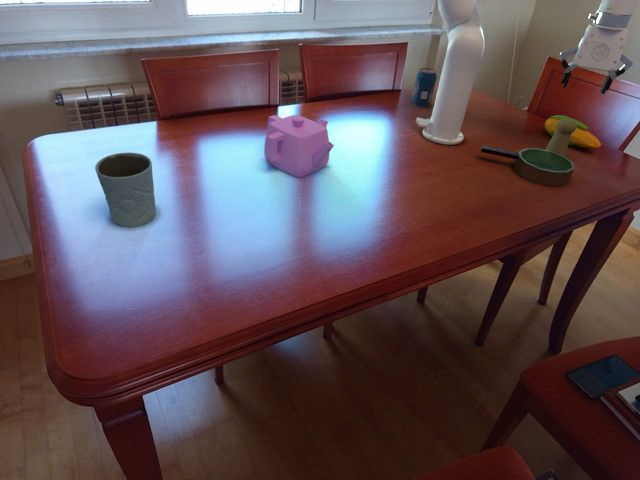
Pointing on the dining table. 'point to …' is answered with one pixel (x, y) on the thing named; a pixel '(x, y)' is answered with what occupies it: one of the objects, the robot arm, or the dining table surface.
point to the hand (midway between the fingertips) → (582, 89)
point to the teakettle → (297, 144)
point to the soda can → (424, 87)
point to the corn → (574, 133)
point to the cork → (561, 136)
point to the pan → (538, 165)
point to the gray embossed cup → (128, 188)
